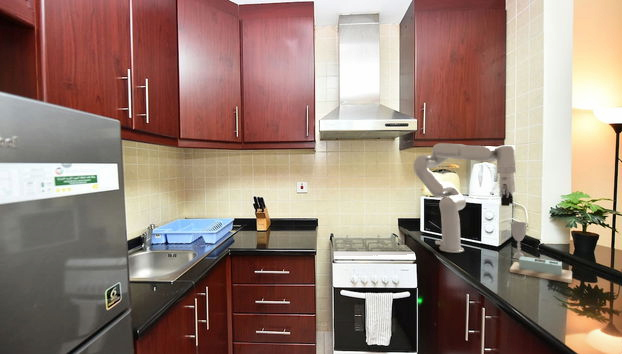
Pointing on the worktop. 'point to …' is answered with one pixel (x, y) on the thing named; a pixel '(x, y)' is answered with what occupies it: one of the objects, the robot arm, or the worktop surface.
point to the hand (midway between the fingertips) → (507, 204)
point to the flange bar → (540, 265)
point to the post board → (564, 277)
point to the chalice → (518, 235)
